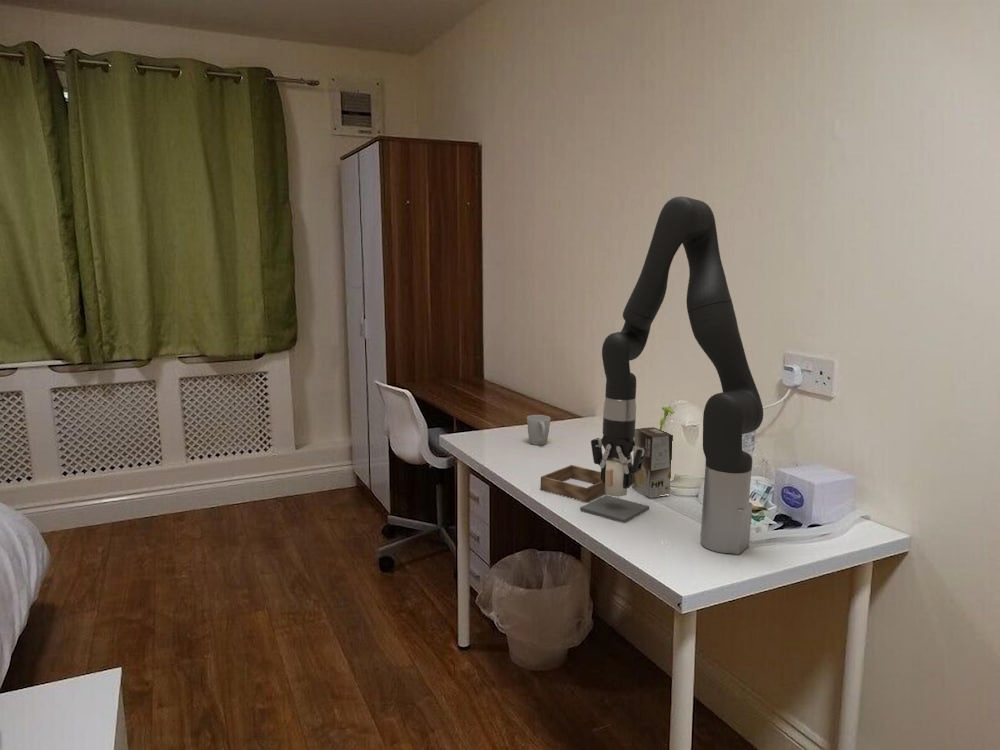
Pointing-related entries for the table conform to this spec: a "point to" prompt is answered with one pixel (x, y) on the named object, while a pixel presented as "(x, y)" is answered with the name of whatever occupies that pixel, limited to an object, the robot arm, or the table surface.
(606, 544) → the table surface
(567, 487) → the holder
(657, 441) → the coffee box
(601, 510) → the mat
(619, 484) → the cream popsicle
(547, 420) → the cup
